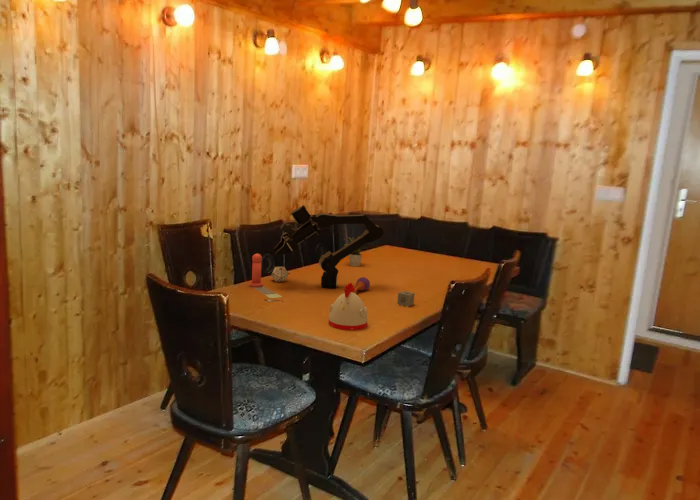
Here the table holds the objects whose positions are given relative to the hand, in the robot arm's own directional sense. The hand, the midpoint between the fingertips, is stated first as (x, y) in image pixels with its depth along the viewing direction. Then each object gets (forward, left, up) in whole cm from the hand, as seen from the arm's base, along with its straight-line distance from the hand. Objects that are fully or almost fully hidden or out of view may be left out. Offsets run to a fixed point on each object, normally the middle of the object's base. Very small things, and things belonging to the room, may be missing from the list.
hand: (274, 253), depth 246 cm
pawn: (+6, +4, -14) cm, 16 cm away
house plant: (-31, -59, -15) cm, 69 cm away
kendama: (-37, +1, -15) cm, 40 cm away
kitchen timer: (-37, +45, -15) cm, 60 cm away
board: (+1, +11, -15) cm, 19 cm away
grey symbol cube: (-58, +13, -15) cm, 61 cm away
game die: (-1, -7, -15) cm, 17 cm away
